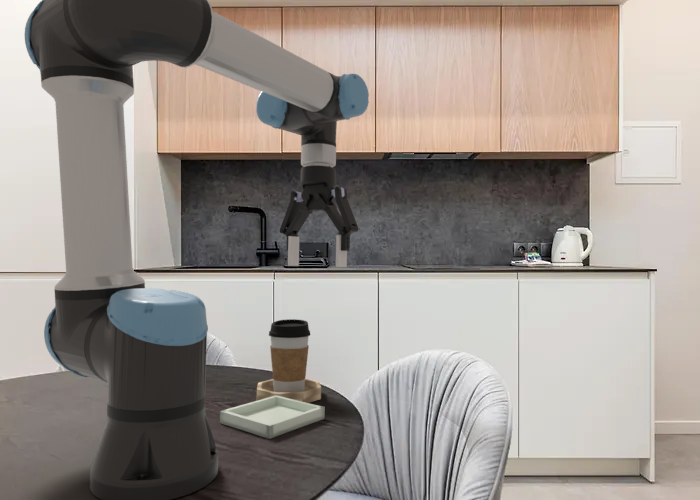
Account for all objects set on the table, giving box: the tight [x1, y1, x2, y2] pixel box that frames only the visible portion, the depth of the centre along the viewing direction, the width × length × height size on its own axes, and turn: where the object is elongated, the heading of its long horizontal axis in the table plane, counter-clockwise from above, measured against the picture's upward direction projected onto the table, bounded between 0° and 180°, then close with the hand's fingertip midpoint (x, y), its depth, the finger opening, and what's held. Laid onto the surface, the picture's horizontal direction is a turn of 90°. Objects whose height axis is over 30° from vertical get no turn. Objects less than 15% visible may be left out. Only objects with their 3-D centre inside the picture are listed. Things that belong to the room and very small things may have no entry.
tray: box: [219, 395, 326, 440], centre depth 88 cm, size 13×12×2 cm
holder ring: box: [256, 378, 322, 404], centre depth 104 cm, size 13×13×2 cm
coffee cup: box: [268, 318, 311, 393], centre depth 104 cm, size 8×8×15 cm
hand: (316, 266), depth 110 cm, fingers open, 13 cm apart
